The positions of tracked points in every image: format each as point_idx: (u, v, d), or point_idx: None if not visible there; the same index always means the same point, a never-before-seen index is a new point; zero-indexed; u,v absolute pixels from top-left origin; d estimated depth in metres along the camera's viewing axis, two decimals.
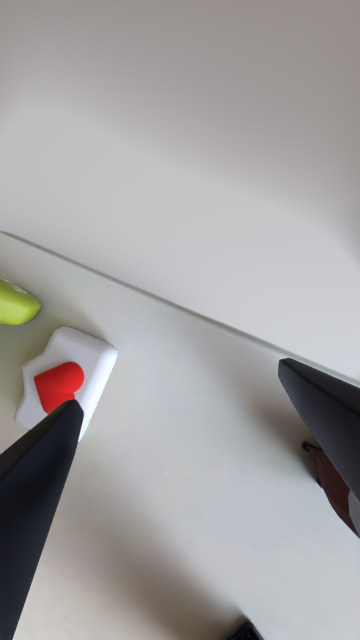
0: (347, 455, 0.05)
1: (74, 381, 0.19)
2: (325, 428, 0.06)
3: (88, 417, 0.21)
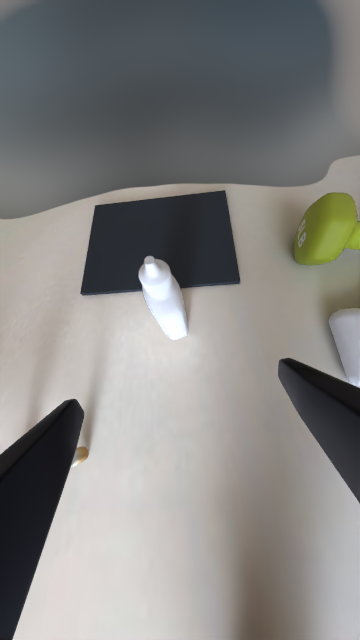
0: (347, 455, 0.05)
1: None
2: (325, 428, 0.06)
3: None
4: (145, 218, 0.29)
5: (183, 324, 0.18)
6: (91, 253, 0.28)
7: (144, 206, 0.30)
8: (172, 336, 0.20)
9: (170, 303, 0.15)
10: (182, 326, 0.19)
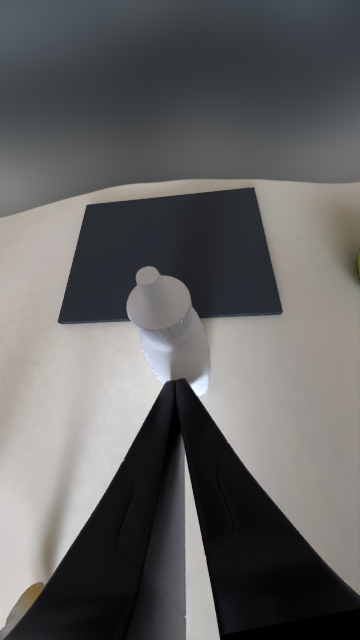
0: None
1: None
2: None
3: None
4: (149, 221, 0.22)
5: (206, 385, 0.11)
6: (77, 266, 0.21)
7: (148, 206, 0.23)
8: None
9: (187, 357, 0.08)
10: (203, 388, 0.11)
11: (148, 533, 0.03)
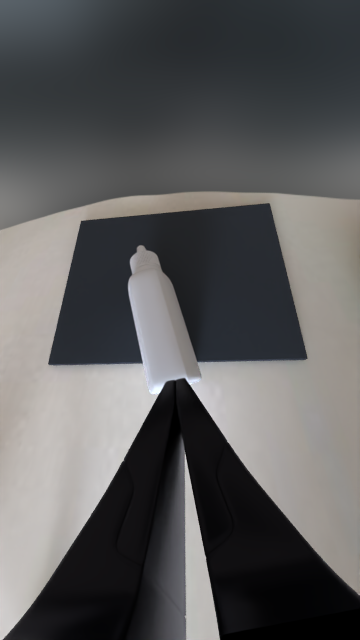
0: None
1: None
2: None
3: None
4: (151, 242, 0.20)
5: (163, 304, 0.11)
6: (70, 295, 0.18)
7: (150, 224, 0.21)
8: (147, 350, 0.10)
9: None
10: (162, 310, 0.11)
11: (148, 533, 0.03)
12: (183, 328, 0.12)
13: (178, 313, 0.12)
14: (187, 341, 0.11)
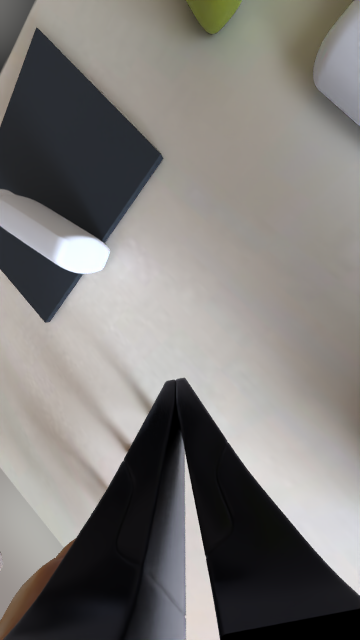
0: None
1: None
2: None
3: None
4: (9, 187, 0.20)
5: (17, 211, 0.14)
6: (13, 278, 0.23)
7: None
8: (35, 246, 0.14)
9: None
10: (19, 216, 0.14)
11: (148, 533, 0.03)
12: (48, 216, 0.14)
13: (38, 210, 0.14)
14: (56, 221, 0.14)
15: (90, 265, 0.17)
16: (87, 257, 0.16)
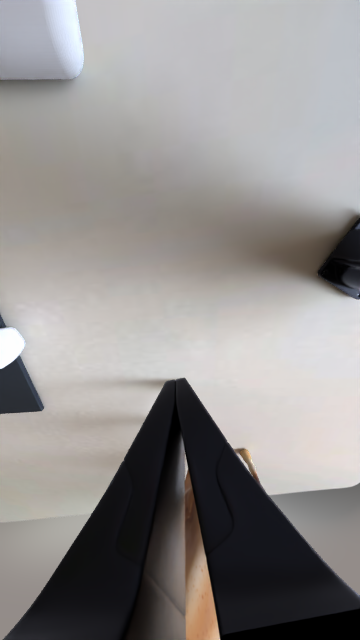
0: None
1: None
2: None
3: None
4: None
5: None
6: None
7: None
8: None
9: None
10: None
11: (148, 533, 0.03)
12: None
13: None
14: None
15: (11, 350, 0.18)
16: (0, 348, 0.17)
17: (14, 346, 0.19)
